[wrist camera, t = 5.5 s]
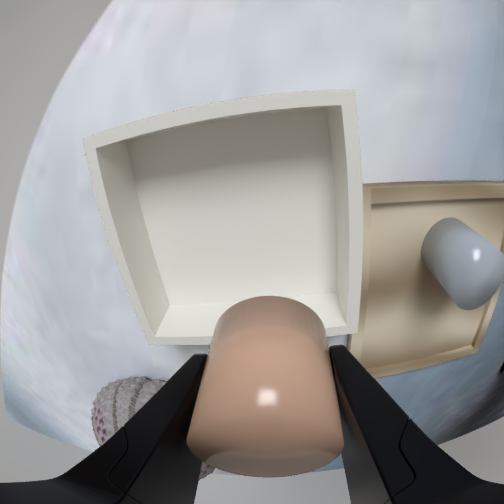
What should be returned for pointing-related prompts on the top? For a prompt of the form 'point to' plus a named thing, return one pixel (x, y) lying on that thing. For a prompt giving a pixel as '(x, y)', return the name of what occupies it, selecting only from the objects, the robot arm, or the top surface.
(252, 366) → the peach rounded cylinder
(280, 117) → the square storage bin
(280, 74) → the top surface
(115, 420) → the sea urchin shell
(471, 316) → the parts tray
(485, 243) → the slate pebble
